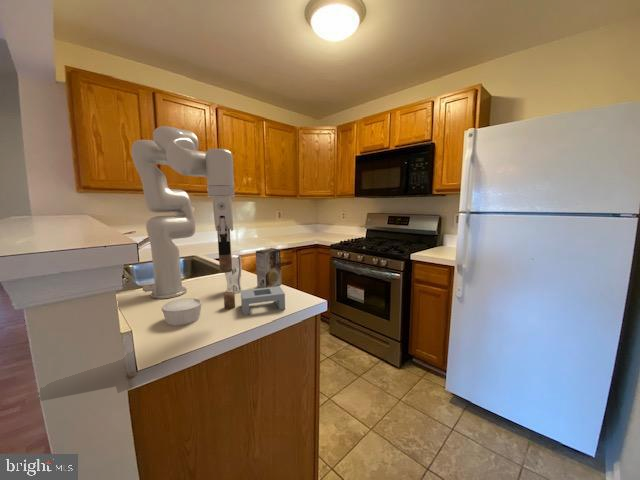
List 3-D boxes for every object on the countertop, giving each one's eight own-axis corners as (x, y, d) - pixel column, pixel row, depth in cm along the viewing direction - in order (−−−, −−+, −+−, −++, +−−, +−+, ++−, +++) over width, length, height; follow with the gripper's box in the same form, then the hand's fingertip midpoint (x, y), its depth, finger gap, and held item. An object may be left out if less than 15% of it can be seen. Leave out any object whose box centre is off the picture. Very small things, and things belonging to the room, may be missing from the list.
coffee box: (272, 282, 124) (271, 247, 122) (282, 284, 120) (281, 249, 118) (256, 286, 117) (255, 250, 115) (266, 289, 113) (264, 252, 111)
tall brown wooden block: (219, 273, 81) (216, 223, 79) (220, 270, 84) (217, 222, 82) (232, 272, 82) (229, 223, 80) (232, 269, 85) (229, 222, 83)
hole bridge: (243, 315, 88) (242, 298, 87) (241, 305, 96) (240, 290, 95) (285, 309, 92) (284, 293, 92) (280, 300, 101) (279, 286, 100)
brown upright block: (224, 310, 92) (223, 296, 91) (224, 306, 96) (223, 292, 95) (235, 308, 93) (234, 294, 93) (235, 304, 97) (234, 291, 96)
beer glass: (224, 294, 108) (222, 257, 106) (226, 289, 114) (224, 254, 112) (242, 293, 109) (240, 257, 107) (243, 287, 116) (241, 253, 114)
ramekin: (208, 319, 85) (207, 303, 84) (168, 331, 77) (167, 314, 76) (195, 309, 93) (194, 295, 92) (159, 319, 85) (157, 303, 84)
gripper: (234, 191, 73) (238, 257, 76) (234, 193, 89) (237, 248, 91) (205, 191, 71) (209, 259, 73) (209, 193, 86) (213, 249, 89)
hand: (225, 252), depth 82 cm, fingers closed on tall brown wooden block, 3 cm apart
